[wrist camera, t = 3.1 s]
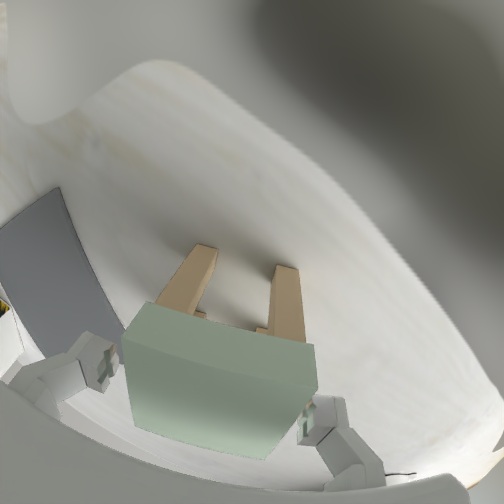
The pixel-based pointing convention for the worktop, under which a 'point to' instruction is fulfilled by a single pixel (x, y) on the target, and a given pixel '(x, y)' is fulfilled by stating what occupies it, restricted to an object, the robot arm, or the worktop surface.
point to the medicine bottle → (8, 338)
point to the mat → (53, 279)
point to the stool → (219, 366)
